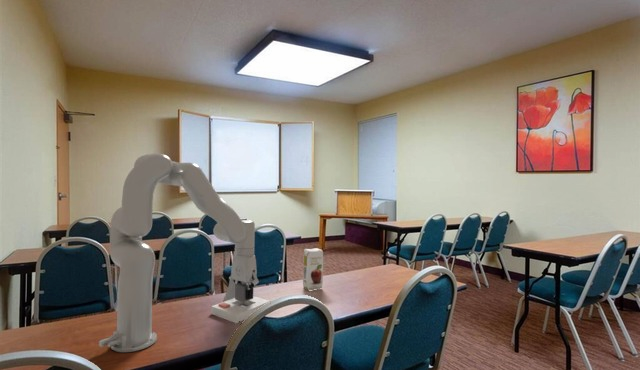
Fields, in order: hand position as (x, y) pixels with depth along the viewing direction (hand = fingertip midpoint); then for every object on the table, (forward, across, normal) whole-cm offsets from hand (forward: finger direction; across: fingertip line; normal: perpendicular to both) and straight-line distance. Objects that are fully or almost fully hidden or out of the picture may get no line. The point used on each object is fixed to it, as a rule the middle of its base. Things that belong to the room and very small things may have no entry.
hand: (244, 296), depth 134 cm
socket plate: (+5, 0, -1) cm, 6 cm away
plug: (+1, 0, 0) cm, 1 cm away
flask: (+6, -12, +5) cm, 14 cm away
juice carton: (+6, +6, +39) cm, 40 cm away
